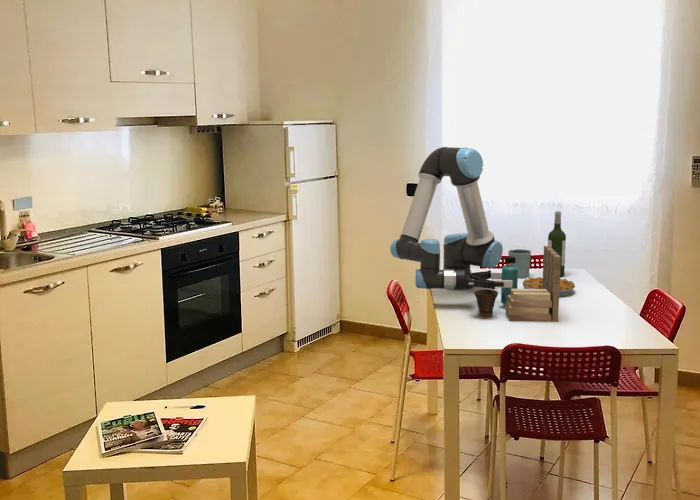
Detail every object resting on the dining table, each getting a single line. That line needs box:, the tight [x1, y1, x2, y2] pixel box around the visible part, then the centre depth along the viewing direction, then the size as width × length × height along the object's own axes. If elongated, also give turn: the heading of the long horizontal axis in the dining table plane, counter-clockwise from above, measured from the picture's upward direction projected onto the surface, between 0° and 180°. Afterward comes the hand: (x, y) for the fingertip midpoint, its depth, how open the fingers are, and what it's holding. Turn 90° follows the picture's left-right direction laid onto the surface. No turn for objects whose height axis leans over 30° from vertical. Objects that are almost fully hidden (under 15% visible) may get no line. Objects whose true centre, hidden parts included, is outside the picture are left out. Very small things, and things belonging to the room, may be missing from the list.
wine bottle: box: [547, 210, 567, 278], centre depth 344 cm, size 8×8×30 cm
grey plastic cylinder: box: [508, 248, 532, 279], centre depth 345 cm, size 10×10×12 cm
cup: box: [473, 288, 499, 318], centre depth 279 cm, size 9×9×10 cm
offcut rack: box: [505, 245, 561, 322], centre depth 281 cm, size 22×18×24 cm
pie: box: [521, 276, 576, 298], centre depth 316 cm, size 22×22×5 cm
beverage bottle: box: [500, 256, 519, 306], centre depth 291 cm, size 6×7×20 cm
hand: (510, 279), depth 290 cm, fingers open, 13 cm apart
